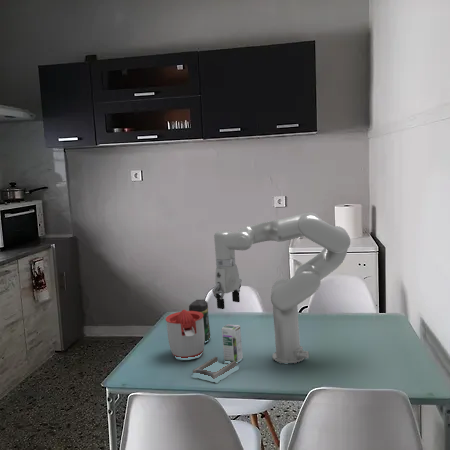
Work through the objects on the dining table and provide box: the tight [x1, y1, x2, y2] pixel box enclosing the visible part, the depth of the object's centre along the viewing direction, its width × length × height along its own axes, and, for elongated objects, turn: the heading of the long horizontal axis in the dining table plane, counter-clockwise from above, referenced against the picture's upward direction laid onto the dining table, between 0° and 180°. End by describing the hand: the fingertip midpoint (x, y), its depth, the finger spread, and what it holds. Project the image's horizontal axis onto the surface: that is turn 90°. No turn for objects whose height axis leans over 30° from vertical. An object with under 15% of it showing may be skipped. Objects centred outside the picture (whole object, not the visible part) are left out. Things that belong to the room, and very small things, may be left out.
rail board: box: [192, 356, 238, 379], centre depth 193 cm, size 12×14×3 cm
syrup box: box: [221, 323, 244, 362], centre depth 202 cm, size 6×6×14 cm
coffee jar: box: [188, 299, 211, 341], centre depth 226 cm, size 10×8×19 cm
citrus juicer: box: [165, 309, 205, 358], centre depth 210 cm, size 16×17×20 cm
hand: (228, 305), depth 202 cm, fingers open, 9 cm apart
